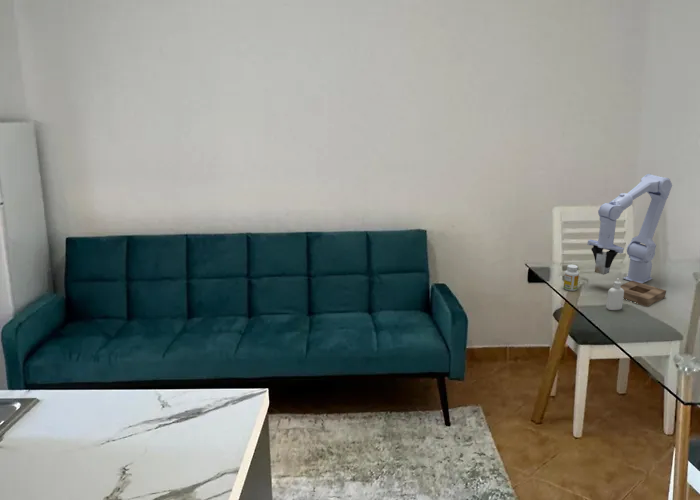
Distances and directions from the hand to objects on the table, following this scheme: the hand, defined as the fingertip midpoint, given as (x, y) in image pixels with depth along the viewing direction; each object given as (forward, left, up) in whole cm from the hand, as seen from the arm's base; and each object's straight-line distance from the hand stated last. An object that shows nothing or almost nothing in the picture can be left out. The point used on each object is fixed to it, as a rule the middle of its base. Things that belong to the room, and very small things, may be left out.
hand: (602, 265), depth 259 cm
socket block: (-3, +15, -9) cm, 18 cm away
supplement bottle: (+10, -7, -10) cm, 16 cm away
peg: (0, 0, -3) cm, 3 cm away
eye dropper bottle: (+15, +15, -10) cm, 23 cm away
